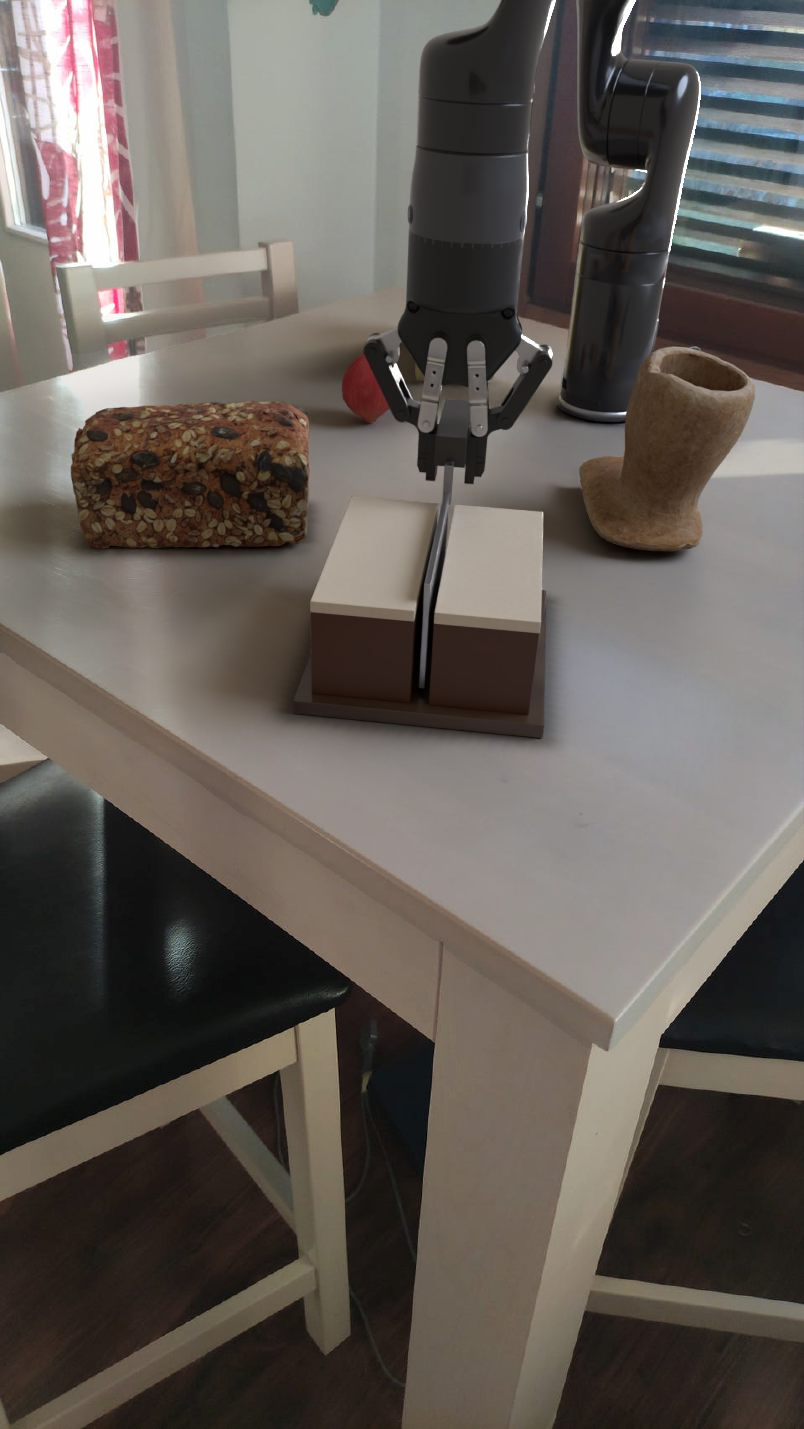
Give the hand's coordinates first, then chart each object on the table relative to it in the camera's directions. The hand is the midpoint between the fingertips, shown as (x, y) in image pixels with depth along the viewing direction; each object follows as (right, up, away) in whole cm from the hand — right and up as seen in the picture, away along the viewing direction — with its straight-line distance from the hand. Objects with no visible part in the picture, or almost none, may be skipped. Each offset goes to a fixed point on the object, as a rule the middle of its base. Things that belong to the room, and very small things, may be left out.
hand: (450, 477), depth 78 cm
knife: (-1, -9, -1) cm, 9 cm away
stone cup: (+18, -1, +15) cm, 24 cm away
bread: (-21, -2, +12) cm, 24 cm away
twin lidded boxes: (-2, -13, -4) cm, 14 cm away
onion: (-7, +13, +34) cm, 37 cm away
